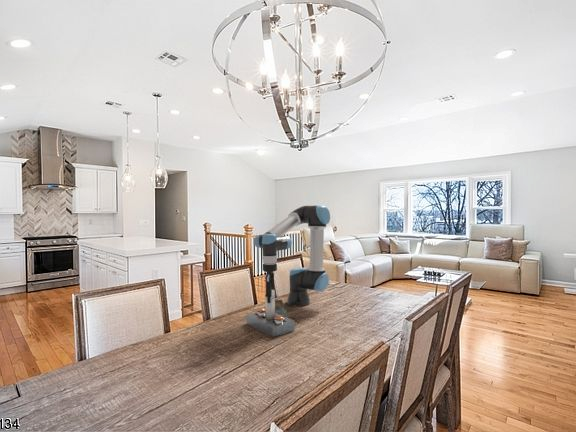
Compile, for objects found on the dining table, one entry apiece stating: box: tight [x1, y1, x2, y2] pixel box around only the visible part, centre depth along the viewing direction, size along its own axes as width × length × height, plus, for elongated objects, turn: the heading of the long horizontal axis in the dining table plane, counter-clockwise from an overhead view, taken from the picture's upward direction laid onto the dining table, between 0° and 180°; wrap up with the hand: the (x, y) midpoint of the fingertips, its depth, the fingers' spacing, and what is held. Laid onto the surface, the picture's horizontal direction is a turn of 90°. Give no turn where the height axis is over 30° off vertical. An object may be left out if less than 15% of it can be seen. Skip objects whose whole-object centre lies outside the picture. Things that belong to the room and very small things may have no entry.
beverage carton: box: [275, 299, 288, 318], centre depth 190 cm, size 8×19×7 cm, turn 10°
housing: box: [246, 311, 296, 338], centre depth 169 cm, size 14×24×5 cm, turn 39°
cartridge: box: [264, 289, 276, 320], centre depth 169 cm, size 5×5×16 cm
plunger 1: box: [256, 307, 266, 316], centre depth 176 cm, size 5×5×7 cm
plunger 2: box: [274, 315, 284, 324], centre depth 163 cm, size 5×5×7 cm
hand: (270, 306), depth 169 cm, fingers closed on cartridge, 5 cm apart
